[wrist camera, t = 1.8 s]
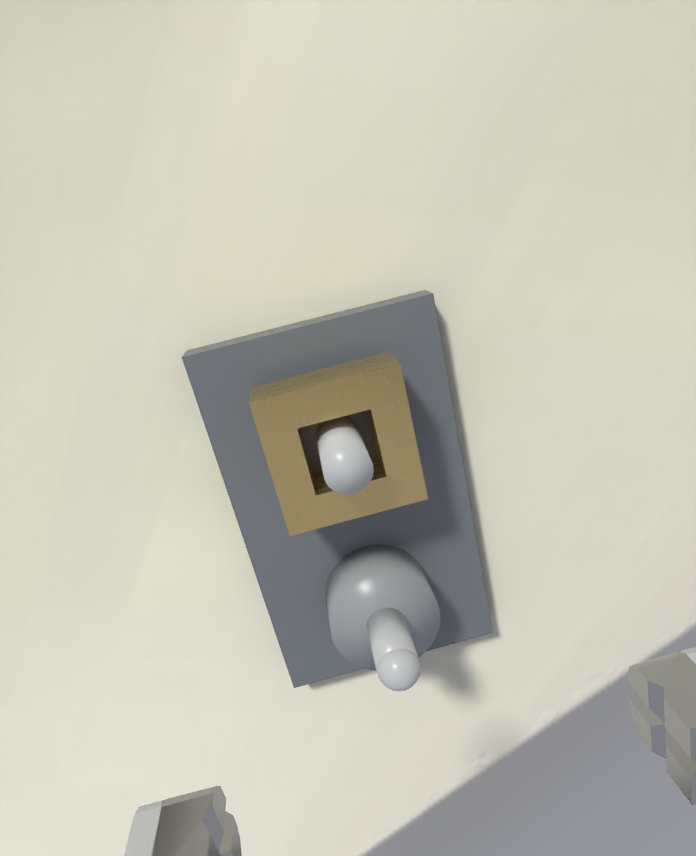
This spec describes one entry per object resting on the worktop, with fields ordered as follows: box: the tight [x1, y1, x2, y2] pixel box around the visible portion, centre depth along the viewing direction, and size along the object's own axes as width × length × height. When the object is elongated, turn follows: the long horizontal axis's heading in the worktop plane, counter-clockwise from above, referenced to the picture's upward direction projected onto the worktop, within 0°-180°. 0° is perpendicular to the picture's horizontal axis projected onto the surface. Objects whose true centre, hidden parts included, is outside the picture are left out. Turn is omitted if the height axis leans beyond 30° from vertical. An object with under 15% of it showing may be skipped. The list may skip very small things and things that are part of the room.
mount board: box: [182, 290, 493, 691], centre depth 28 cm, size 12×20×8 cm, turn 13°
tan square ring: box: [249, 352, 428, 536], centre depth 26 cm, size 6×6×2 cm
